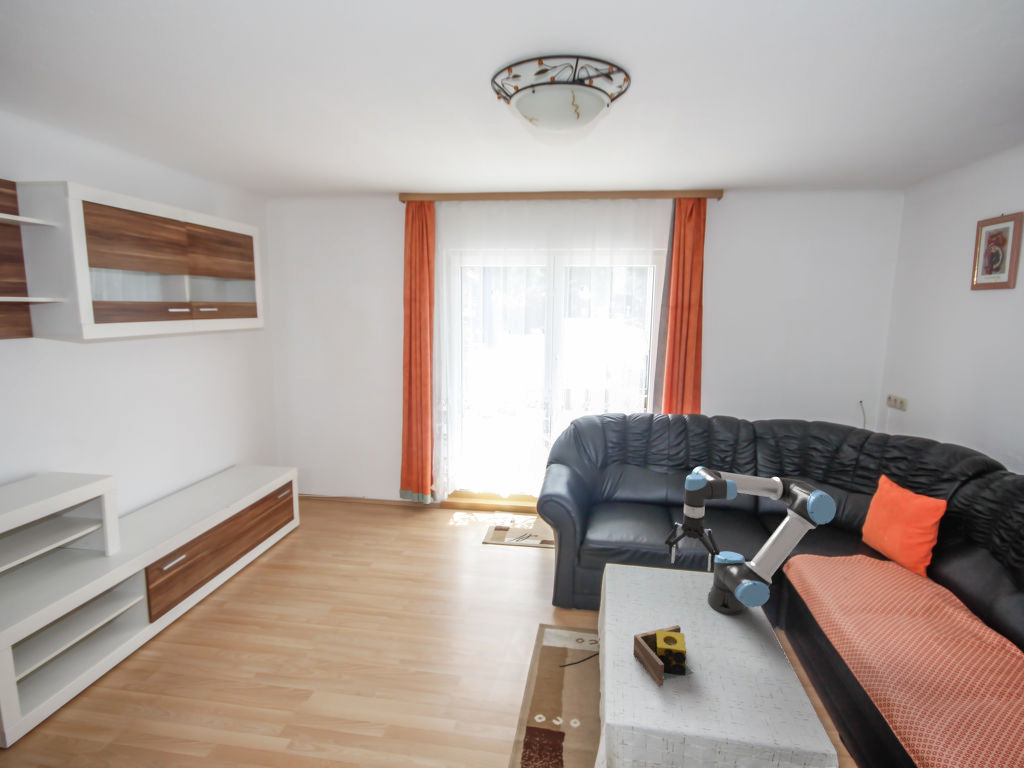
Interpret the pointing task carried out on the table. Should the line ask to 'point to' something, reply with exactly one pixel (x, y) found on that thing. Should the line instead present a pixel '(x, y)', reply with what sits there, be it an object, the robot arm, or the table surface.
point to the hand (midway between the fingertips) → (690, 565)
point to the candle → (671, 651)
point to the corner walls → (651, 653)
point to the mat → (668, 676)
